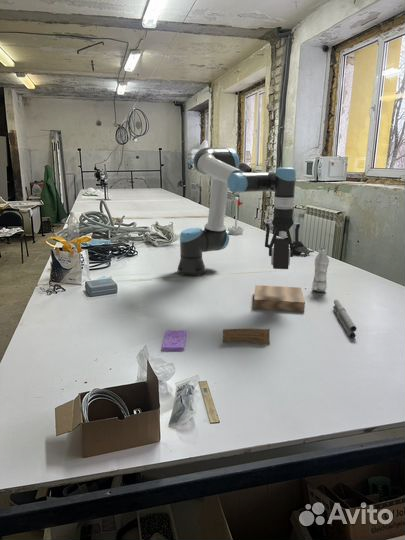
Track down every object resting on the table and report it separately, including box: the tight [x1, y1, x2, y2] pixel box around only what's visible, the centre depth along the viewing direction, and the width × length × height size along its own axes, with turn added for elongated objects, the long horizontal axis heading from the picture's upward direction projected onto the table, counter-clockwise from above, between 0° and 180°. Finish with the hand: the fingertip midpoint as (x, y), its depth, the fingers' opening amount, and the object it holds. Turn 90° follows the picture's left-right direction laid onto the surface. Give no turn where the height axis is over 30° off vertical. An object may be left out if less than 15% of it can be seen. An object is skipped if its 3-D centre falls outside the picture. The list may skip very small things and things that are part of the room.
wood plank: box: [222, 328, 271, 346], centre depth 121 cm, size 15×2×5 cm, turn 89°
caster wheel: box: [289, 240, 315, 257], centre depth 235 cm, size 6×10×15 cm
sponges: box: [162, 329, 187, 352], centre depth 123 cm, size 7×13×2 cm, turn 0°
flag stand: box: [227, 196, 245, 236], centre depth 300 cm, size 13×13×30 cm
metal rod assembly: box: [332, 299, 357, 339], centre depth 137 cm, size 26×3×5 cm, turn 173°
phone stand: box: [272, 236, 290, 270], centre depth 151 cm, size 9×6×12 cm, turn 172°
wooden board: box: [253, 284, 306, 313], centre depth 157 cm, size 20×18×4 cm
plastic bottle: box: [311, 247, 330, 293], centre depth 168 cm, size 6×7×20 cm
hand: (280, 264), depth 153 cm, fingers closed on phone stand, 6 cm apart
